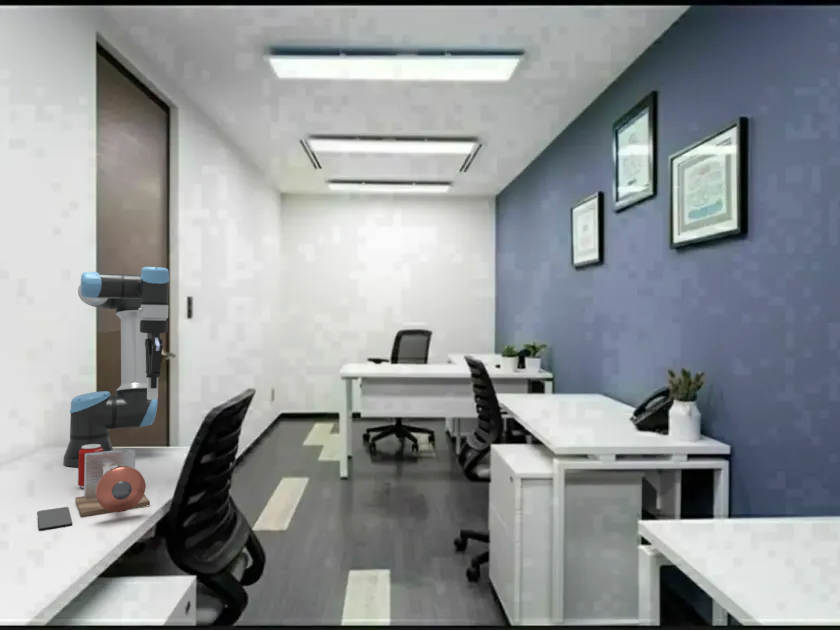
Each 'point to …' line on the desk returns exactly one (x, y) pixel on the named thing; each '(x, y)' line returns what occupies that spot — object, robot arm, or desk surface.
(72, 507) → the desk surface
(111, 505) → the copper knob thumbscrew
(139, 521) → the desk surface
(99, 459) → the eye plate
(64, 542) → the desk surface
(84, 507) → the walnut board
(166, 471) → the desk surface
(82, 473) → the beverage can
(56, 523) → the smartphone
